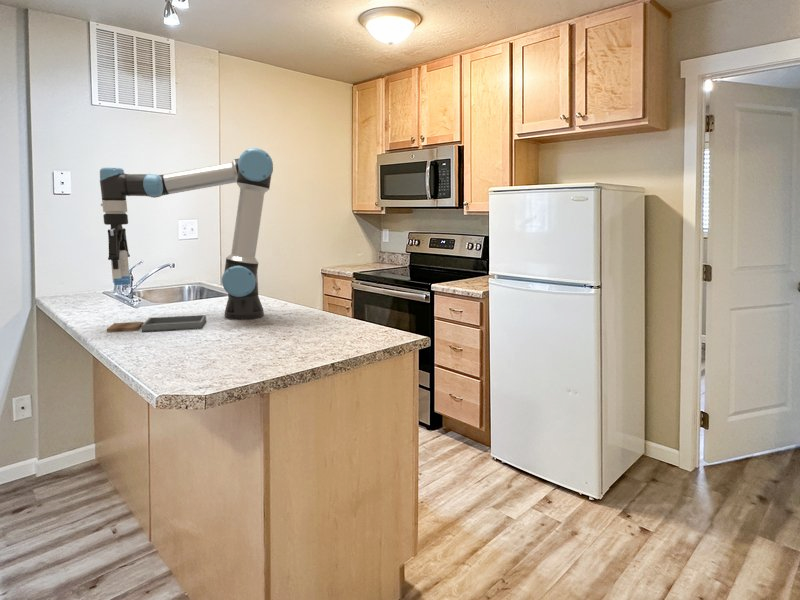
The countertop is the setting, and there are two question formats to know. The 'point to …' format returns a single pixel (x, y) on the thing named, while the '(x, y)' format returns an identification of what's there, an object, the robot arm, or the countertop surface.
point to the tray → (174, 323)
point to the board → (125, 327)
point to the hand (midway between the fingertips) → (121, 276)
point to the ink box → (123, 269)
